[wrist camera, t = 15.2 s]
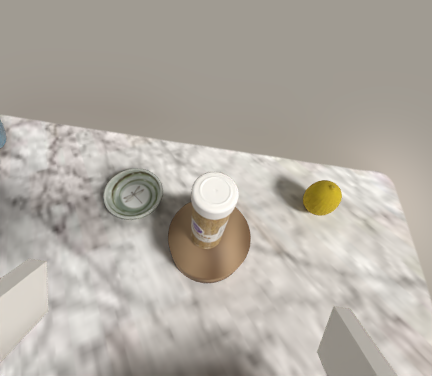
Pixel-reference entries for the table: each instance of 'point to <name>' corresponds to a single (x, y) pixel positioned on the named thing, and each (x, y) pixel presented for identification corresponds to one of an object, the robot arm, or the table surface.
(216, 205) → the sprinkles bottle
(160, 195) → the saucer
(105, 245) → the table surface
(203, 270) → the walnut pedestal
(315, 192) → the lemon
